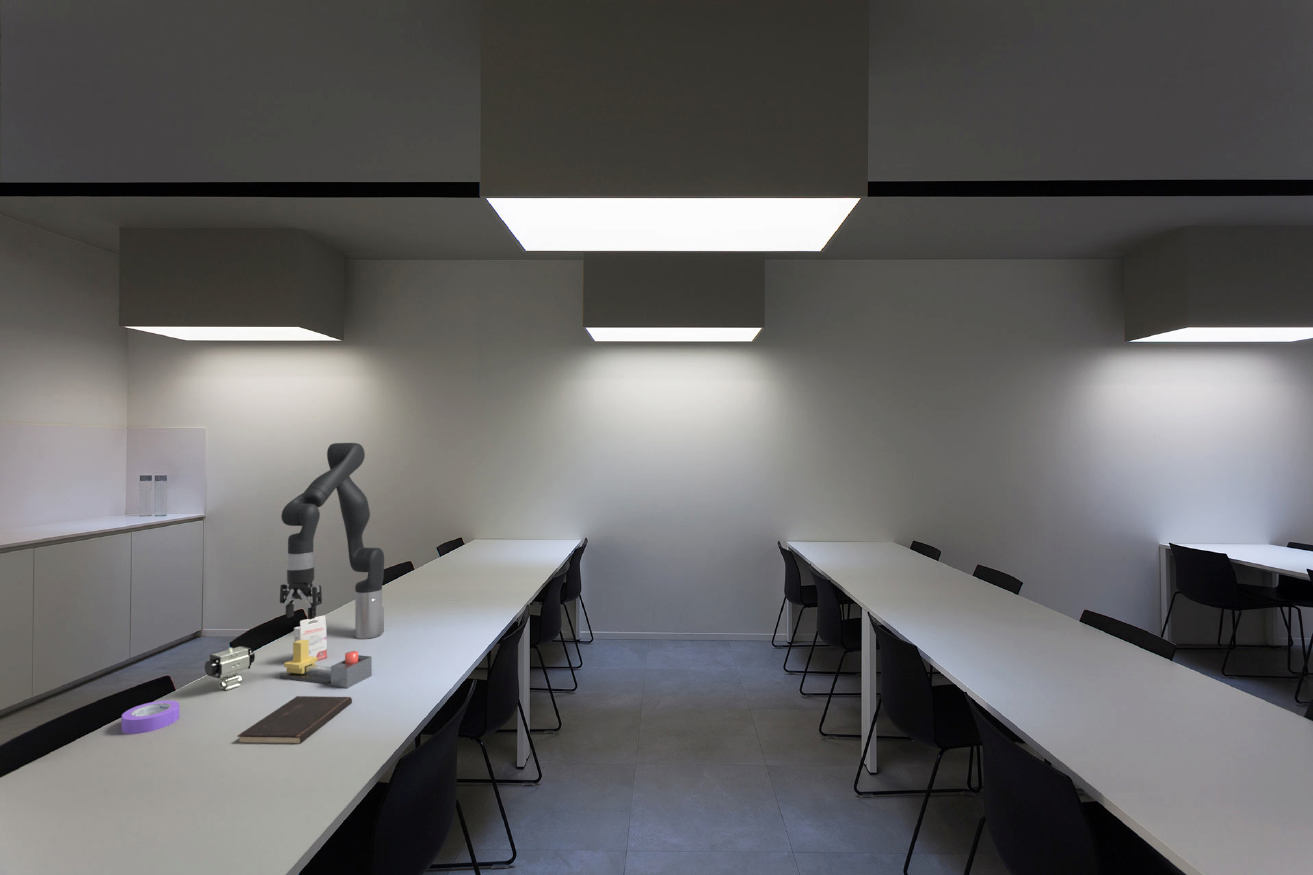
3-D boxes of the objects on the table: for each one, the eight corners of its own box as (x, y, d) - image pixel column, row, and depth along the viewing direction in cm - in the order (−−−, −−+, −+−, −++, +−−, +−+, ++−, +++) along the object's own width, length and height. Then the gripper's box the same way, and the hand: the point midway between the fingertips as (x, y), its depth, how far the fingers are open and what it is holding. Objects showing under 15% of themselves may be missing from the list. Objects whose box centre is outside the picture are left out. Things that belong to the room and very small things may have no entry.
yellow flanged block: (302, 665, 196) (302, 636, 196) (317, 666, 195) (317, 638, 195) (283, 673, 190) (283, 643, 190) (299, 675, 188) (299, 645, 188)
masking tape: (186, 710, 167) (186, 697, 167) (169, 729, 156) (169, 714, 156) (133, 718, 163) (133, 703, 163) (112, 738, 152) (112, 722, 152)
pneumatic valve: (204, 693, 178) (204, 652, 178) (246, 679, 188) (246, 640, 188) (214, 697, 175) (214, 655, 175) (256, 682, 186) (256, 643, 186)
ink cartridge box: (320, 655, 210) (320, 612, 210) (327, 658, 207) (326, 614, 207) (293, 662, 203) (293, 618, 203) (300, 665, 200) (299, 620, 200)
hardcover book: (237, 744, 149) (237, 735, 149) (296, 704, 172) (296, 695, 172) (300, 745, 148) (300, 736, 148) (352, 704, 171) (352, 696, 171)
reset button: (351, 666, 189) (351, 650, 189) (360, 667, 188) (360, 651, 188) (342, 670, 185) (342, 654, 186) (352, 672, 184) (352, 655, 185)
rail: (301, 668, 197) (301, 659, 197) (349, 674, 192) (349, 664, 192) (280, 677, 189) (279, 668, 189) (329, 684, 184) (329, 674, 184)
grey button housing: (355, 673, 192) (355, 654, 192) (371, 675, 191) (371, 656, 191) (330, 686, 183) (330, 666, 183) (347, 688, 181) (347, 668, 181)
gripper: (328, 565, 194) (328, 616, 194) (292, 563, 198) (292, 613, 198) (309, 570, 187) (309, 622, 187) (272, 567, 191) (272, 619, 190)
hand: (300, 617), depth 192 cm, fingers open, 8 cm apart
